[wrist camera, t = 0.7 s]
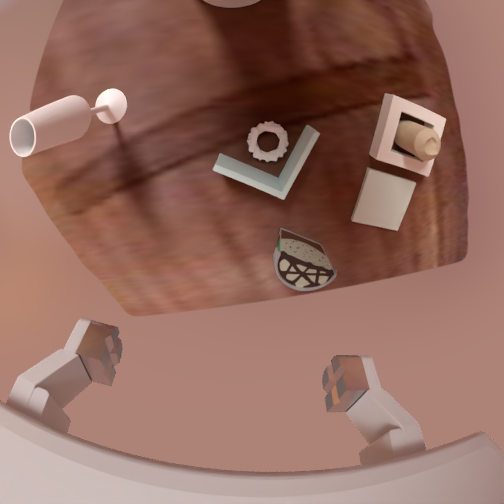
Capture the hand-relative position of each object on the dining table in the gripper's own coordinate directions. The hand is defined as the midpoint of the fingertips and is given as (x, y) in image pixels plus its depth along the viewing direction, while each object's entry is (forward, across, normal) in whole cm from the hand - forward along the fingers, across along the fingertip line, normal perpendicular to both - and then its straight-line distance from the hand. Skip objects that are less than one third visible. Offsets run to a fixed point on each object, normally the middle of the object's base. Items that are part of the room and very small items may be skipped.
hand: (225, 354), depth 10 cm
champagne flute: (+43, +25, -2) cm, 50 cm away
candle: (+43, -28, -7) cm, 52 cm away
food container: (+43, -13, +21) cm, 49 cm away
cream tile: (+43, -28, +7) cm, 51 cm away
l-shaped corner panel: (+43, -3, +1) cm, 44 cm away
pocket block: (+43, -28, -7) cm, 51 cm away
